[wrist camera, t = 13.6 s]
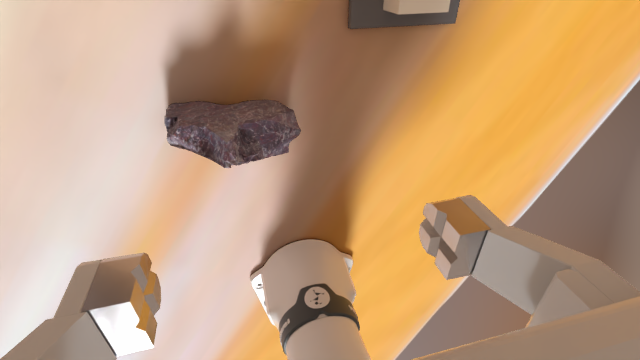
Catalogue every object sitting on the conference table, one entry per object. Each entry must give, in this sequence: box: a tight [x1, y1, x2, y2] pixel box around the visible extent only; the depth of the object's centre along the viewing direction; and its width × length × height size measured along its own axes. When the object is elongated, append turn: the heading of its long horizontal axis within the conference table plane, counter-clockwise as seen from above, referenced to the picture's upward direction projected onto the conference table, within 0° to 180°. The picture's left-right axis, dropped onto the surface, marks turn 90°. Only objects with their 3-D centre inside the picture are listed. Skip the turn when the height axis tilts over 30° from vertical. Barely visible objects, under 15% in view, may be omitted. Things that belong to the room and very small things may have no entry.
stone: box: [165, 100, 301, 168], centre depth 39 cm, size 10×6×15 cm
